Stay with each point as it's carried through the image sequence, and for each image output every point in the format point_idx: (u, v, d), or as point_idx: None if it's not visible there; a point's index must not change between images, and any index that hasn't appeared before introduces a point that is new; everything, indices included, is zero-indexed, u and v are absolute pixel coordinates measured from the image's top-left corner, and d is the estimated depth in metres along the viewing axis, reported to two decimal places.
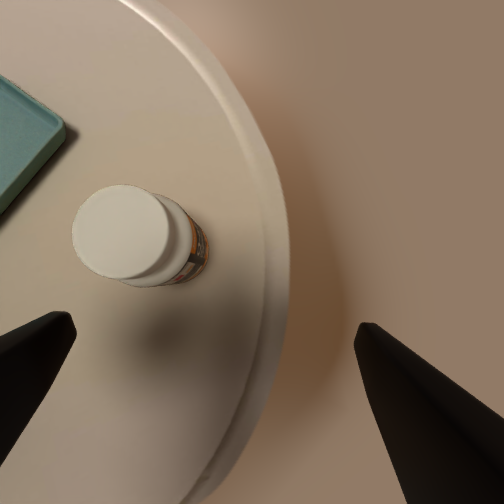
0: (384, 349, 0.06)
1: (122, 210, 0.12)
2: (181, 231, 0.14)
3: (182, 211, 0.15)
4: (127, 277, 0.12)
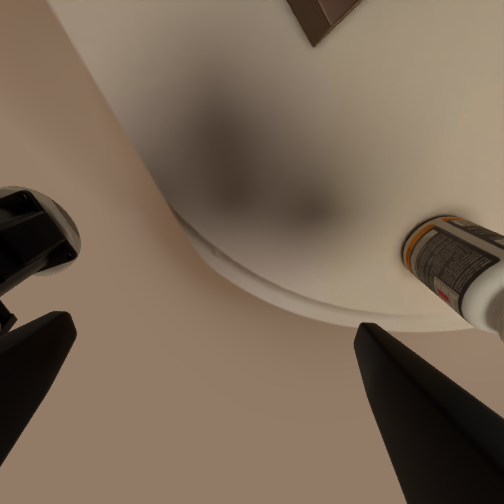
0: (384, 349, 0.06)
1: None
2: None
3: None
4: None
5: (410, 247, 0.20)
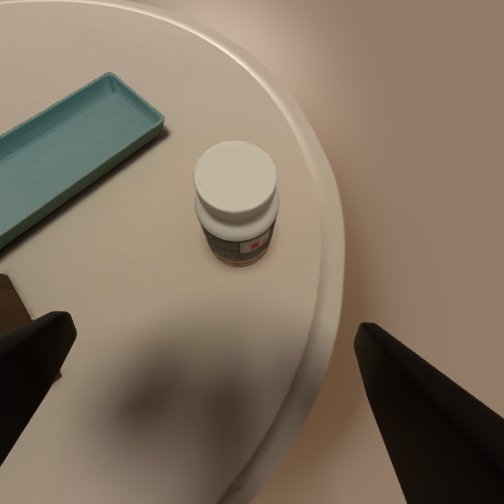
0: (384, 349, 0.06)
1: (239, 159, 0.14)
2: (274, 195, 0.16)
3: None
4: (237, 211, 0.13)
5: (233, 263, 0.21)
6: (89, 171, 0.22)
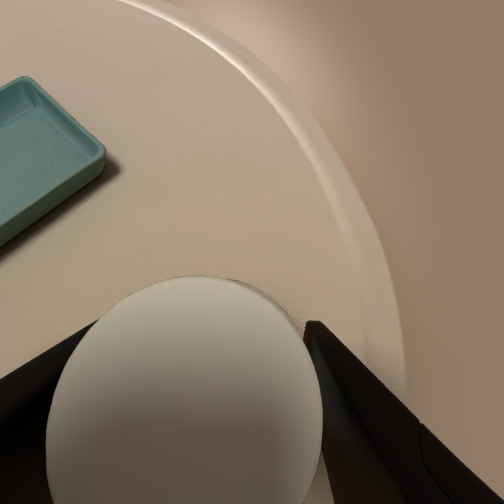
0: (320, 347, 0.06)
1: (203, 346, 0.04)
2: None
3: (295, 327, 0.07)
4: None
5: None
6: None
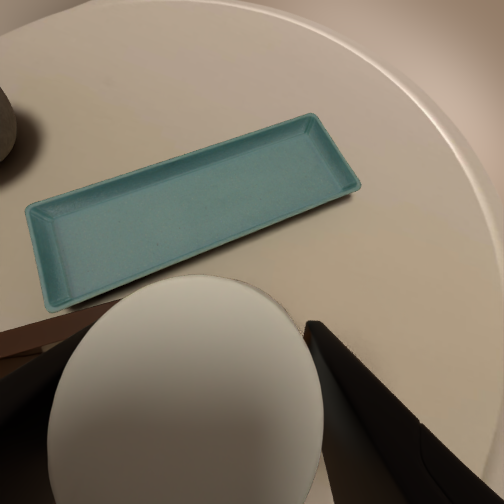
0: (320, 347, 0.06)
1: (205, 345, 0.04)
2: None
3: (296, 326, 0.07)
4: None
5: None
6: (271, 223, 0.20)
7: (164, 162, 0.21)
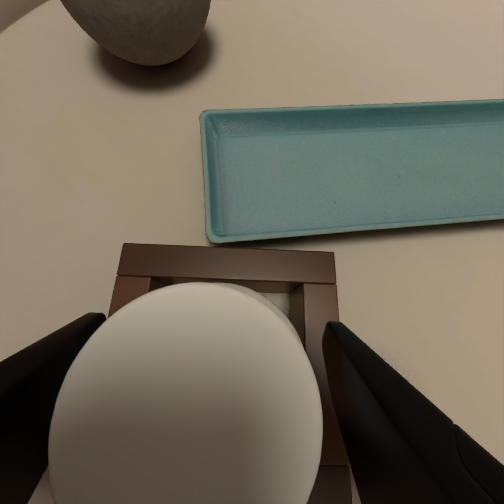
0: (344, 347, 0.06)
1: (204, 353, 0.04)
2: None
3: (295, 331, 0.07)
4: None
5: None
6: None
7: (370, 106, 0.16)
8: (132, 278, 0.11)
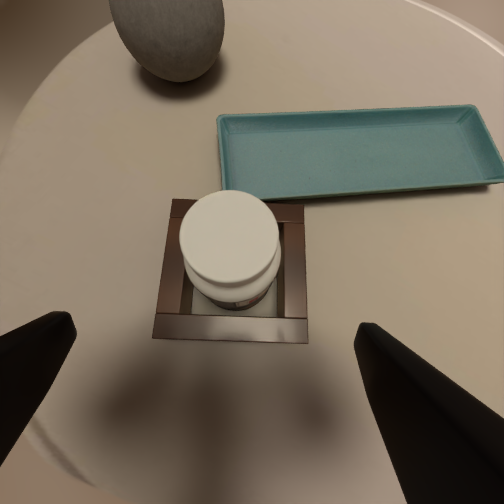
0: (384, 349, 0.06)
1: (234, 213, 0.12)
2: None
3: None
4: (230, 281, 0.11)
5: (229, 309, 0.19)
6: (421, 186, 0.22)
7: (334, 111, 0.24)
8: (179, 218, 0.18)
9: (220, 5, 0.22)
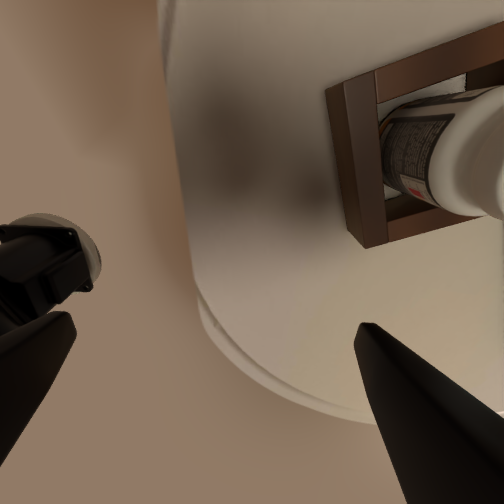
0: (384, 349, 0.06)
1: None
2: None
3: None
4: (497, 191, 0.09)
5: None
6: None
7: None
8: None
9: None
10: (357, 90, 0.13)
